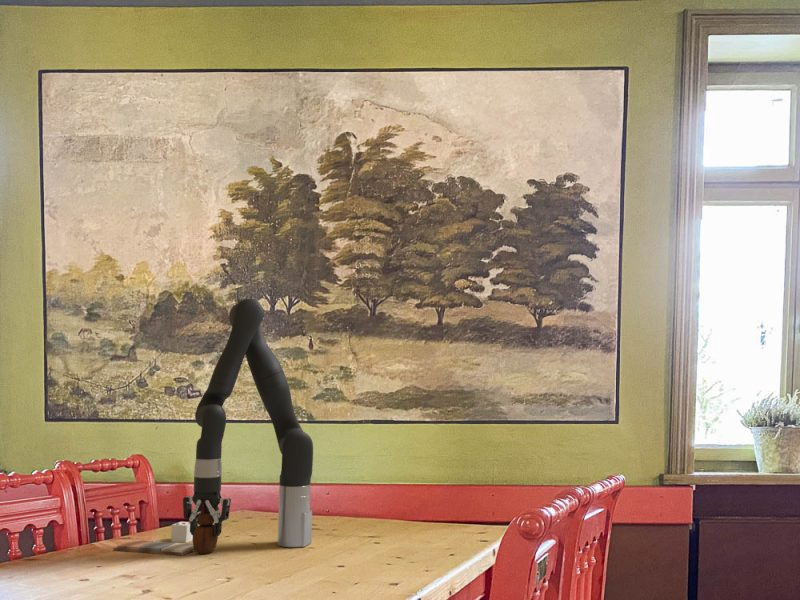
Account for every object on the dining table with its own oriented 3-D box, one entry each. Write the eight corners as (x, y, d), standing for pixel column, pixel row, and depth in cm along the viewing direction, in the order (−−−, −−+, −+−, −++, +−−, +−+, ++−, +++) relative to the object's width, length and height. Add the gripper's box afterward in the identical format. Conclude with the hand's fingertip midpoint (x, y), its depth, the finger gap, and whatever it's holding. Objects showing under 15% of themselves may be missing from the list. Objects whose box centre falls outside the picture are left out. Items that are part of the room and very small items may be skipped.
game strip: (200, 548, 196) (200, 543, 197) (183, 555, 188) (183, 551, 188) (133, 543, 202) (133, 539, 202) (113, 550, 193) (113, 546, 193)
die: (194, 539, 208) (195, 521, 208) (186, 543, 203) (186, 525, 204) (180, 538, 209) (181, 521, 210) (171, 542, 204) (171, 524, 205)
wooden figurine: (201, 556, 187) (203, 500, 189) (188, 553, 190) (190, 498, 192) (221, 551, 192) (223, 497, 194) (208, 548, 196) (210, 495, 197)
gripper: (237, 474, 196) (234, 534, 194) (192, 472, 199) (189, 531, 197) (224, 477, 189) (222, 540, 186) (178, 475, 192) (175, 536, 190)
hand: (205, 535), depth 192 cm, fingers closed on wooden figurine, 6 cm apart
